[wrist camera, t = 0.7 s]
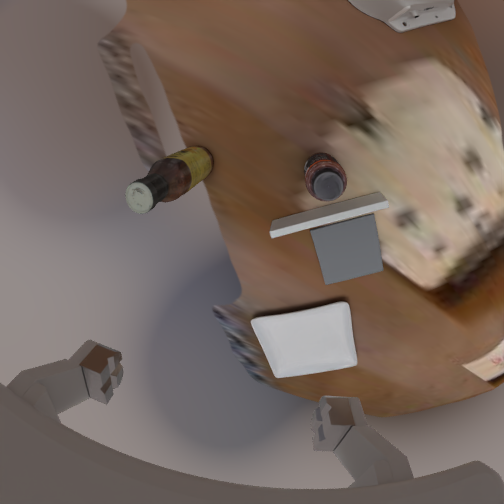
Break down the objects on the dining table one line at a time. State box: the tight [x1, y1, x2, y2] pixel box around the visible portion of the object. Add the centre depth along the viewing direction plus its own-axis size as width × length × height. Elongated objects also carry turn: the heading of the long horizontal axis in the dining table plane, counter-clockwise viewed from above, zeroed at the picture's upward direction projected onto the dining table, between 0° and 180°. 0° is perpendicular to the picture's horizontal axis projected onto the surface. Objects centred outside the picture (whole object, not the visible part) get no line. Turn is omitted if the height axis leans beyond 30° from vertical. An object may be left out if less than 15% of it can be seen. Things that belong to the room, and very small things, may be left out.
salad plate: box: [251, 301, 357, 378], centre depth 61 cm, size 21×21×3 cm
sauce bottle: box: [125, 146, 213, 214], centre depth 39 cm, size 6×6×20 cm
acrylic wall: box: [270, 192, 389, 238], centre depth 45 cm, size 20×1×5 cm, turn 110°
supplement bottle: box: [304, 153, 347, 201], centre depth 39 cm, size 6×6×11 cm
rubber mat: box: [310, 213, 383, 285], centre depth 50 cm, size 12×12×1 cm
